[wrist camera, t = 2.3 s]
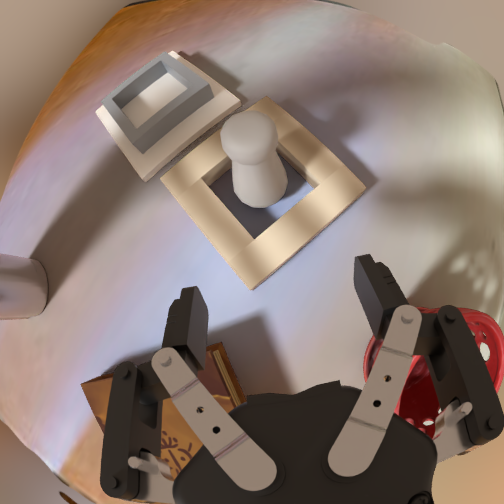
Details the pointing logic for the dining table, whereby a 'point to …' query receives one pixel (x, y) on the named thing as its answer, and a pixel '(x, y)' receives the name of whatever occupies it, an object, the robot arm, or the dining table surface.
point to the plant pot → (419, 379)
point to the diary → (173, 424)
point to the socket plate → (163, 111)
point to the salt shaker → (254, 158)
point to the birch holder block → (286, 227)
